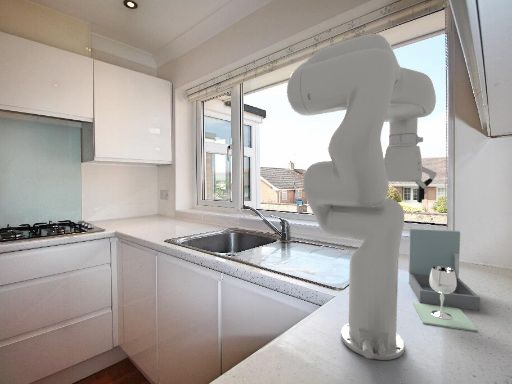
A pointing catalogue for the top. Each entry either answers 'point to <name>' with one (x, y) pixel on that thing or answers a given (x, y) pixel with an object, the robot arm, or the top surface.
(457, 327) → the mat
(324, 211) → the robot arm
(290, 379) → the top surface
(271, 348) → the top surface
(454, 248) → the case
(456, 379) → the top surface
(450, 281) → the wineglass
